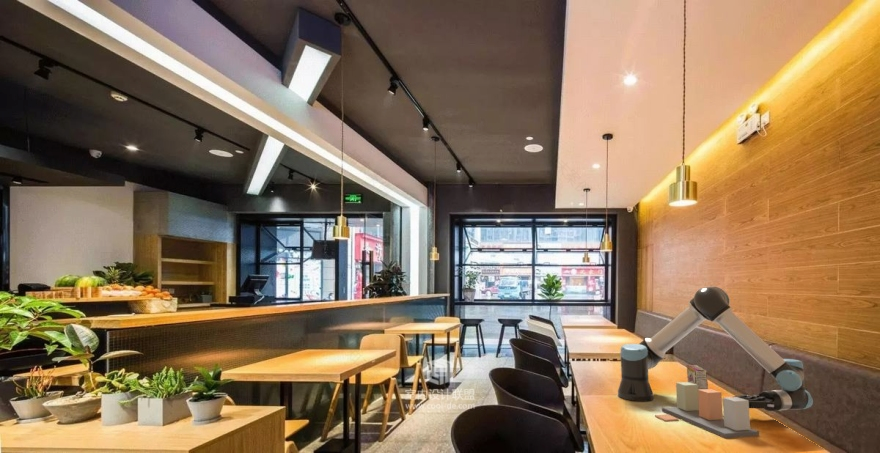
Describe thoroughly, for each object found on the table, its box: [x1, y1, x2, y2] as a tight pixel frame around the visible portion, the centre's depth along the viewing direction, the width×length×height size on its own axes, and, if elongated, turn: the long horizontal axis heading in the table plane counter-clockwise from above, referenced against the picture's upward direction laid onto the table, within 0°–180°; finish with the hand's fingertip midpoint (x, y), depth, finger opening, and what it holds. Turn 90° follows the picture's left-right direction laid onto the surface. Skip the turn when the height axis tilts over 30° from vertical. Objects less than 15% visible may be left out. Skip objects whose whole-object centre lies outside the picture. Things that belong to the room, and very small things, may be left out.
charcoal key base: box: [661, 406, 760, 439], centre depth 174 cm, size 32×14×2 cm, turn 12°
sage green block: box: [675, 381, 699, 411], centre depth 187 cm, size 5×6×10 cm
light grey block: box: [722, 396, 751, 431], centre depth 164 cm, size 5×6×10 cm
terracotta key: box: [698, 388, 724, 420], centre depth 175 cm, size 5×6×10 cm
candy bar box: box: [686, 364, 709, 403], centre depth 197 cm, size 11×5×16 cm, turn 168°
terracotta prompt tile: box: [654, 413, 680, 422], centre depth 178 cm, size 6×6×1 cm
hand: (724, 403), depth 176 cm, fingers closed
